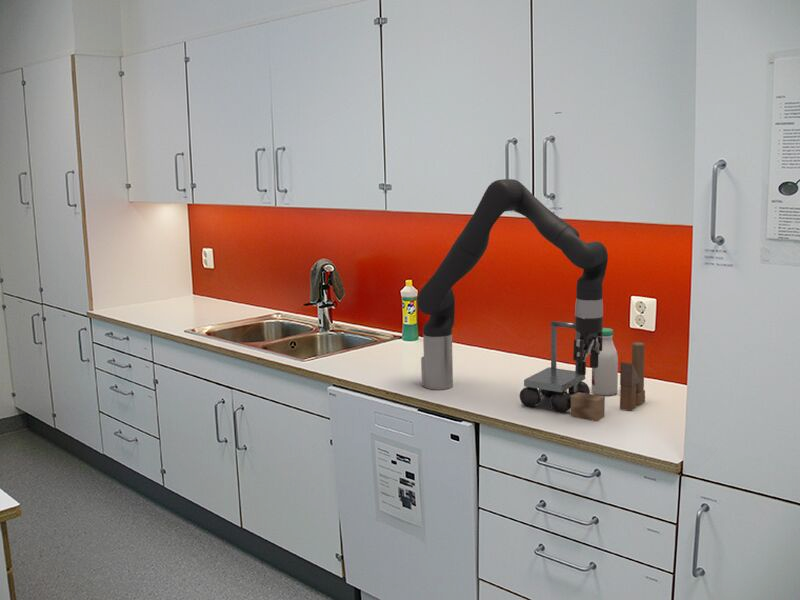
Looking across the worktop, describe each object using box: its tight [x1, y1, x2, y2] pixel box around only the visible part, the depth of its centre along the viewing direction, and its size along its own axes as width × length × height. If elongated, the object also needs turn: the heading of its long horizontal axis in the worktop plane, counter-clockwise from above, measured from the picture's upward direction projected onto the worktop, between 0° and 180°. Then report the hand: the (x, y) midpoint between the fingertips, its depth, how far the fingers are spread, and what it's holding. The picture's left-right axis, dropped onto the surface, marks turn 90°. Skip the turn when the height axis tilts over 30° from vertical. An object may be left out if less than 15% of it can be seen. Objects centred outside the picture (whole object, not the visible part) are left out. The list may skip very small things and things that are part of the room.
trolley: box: [519, 320, 591, 414], centre depth 250 cm, size 16×16×23 cm
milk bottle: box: [591, 327, 619, 397], centre depth 260 cm, size 8×8×20 cm
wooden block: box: [619, 341, 646, 412], centre depth 247 cm, size 4×11×18 cm, turn 143°
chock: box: [570, 392, 606, 422], centre depth 239 cm, size 8×5×6 cm, turn 54°
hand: (587, 371), depth 237 cm, fingers open, 8 cm apart
